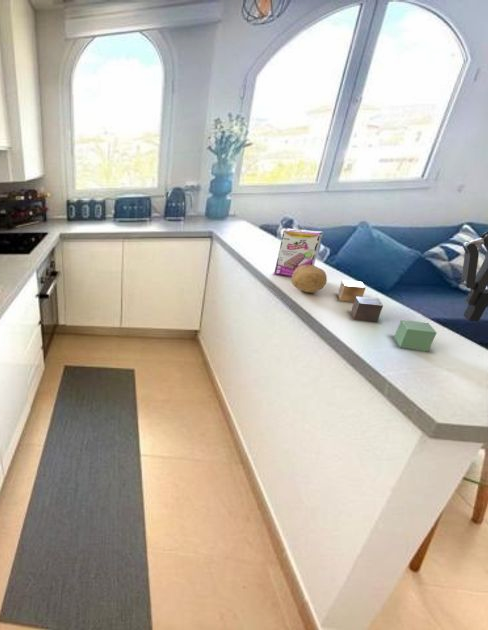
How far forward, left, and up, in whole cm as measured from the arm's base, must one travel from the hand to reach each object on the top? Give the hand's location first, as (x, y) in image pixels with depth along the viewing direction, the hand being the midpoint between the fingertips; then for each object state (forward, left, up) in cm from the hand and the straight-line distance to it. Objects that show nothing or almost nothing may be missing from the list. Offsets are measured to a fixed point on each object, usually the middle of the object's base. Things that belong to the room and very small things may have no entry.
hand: (470, 318), depth 75 cm
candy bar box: (+30, -44, -9) cm, 54 cm away
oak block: (+16, -26, -8) cm, 31 cm away
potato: (+27, -30, -9) cm, 41 cm away
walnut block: (+14, -13, -8) cm, 21 cm away
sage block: (+8, 0, -8) cm, 11 cm away
